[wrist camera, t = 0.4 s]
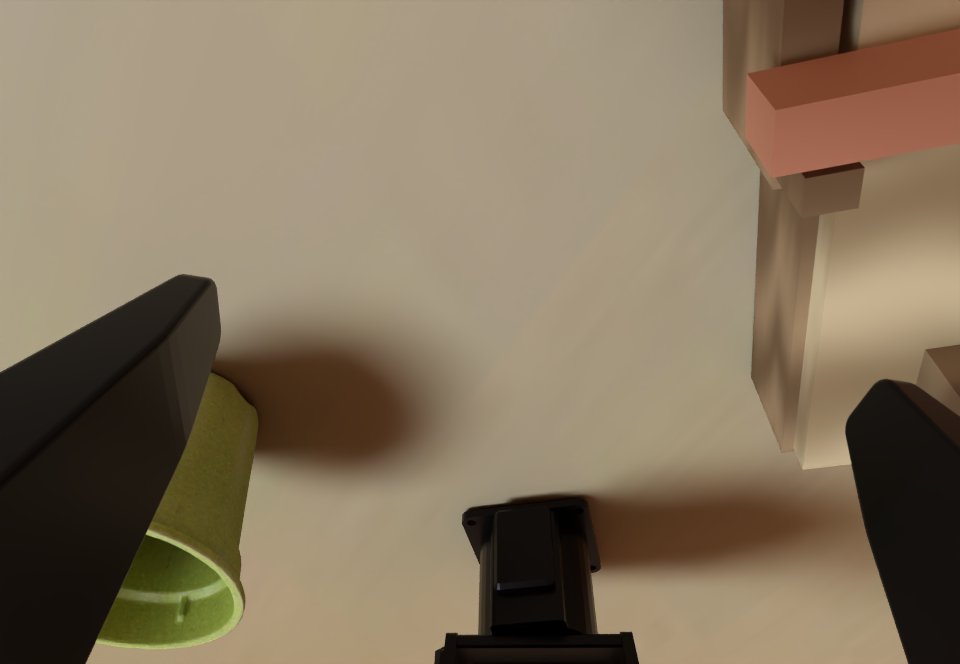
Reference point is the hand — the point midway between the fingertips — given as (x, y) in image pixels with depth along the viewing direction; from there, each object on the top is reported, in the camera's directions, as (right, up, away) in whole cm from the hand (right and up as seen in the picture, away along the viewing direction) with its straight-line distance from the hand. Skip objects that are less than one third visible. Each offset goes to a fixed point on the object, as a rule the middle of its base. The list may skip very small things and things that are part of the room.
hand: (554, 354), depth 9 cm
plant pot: (-14, -3, +21) cm, 26 cm away
